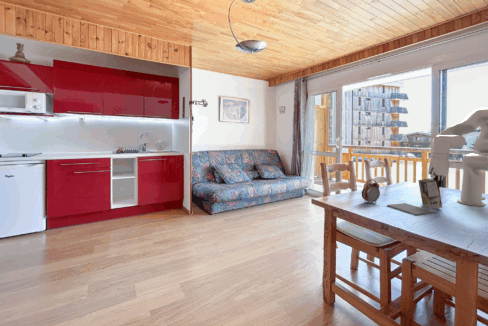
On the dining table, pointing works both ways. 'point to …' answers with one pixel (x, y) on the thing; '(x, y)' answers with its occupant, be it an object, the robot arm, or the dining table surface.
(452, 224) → the dining table surface
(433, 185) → the coffee box
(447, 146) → the robot arm
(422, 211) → the mat
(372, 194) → the alarm clock
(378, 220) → the dining table surface
